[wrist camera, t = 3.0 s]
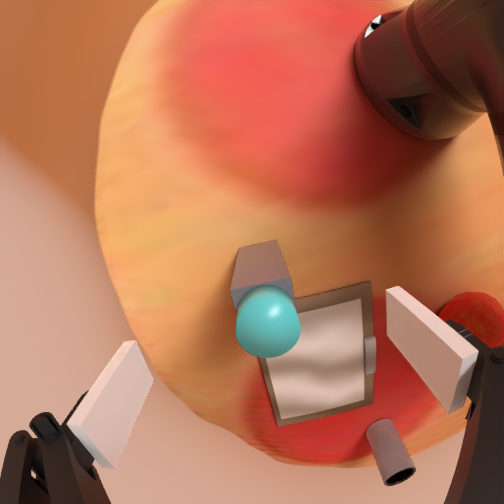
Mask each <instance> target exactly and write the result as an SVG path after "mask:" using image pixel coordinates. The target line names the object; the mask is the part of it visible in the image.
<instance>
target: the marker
mask: <svg viewBox="0 0 504 504" xmlns="http://www.w3.org/2000/svg"><path fill="white" fill-rule="evenodd" d="M230 293H231V297H232V300H233V304H234V308H235V311H236V315H237V321H236V329H235V332H236V338H237V341H238V343H239V344H240V346H241V347H242V348H243V349H244V350H245V351H246V352H248V353H249V354H251V355H254V356H256V357H261V358H273V357H278V356H281V355H283V354H285V353H287V352H288V351H290V350H291V349H292V348H293V347H294V346H295V344H296V343H297V341H298V339H299V336H300V332H301V326H300V322H299V318H298V314H297V308H296V303H295V297H294V292H293V287H292V281H291V277H290V274H289V271H288V269H287V266H286V263H285V261H284V258H283V256H282V253H281V250H280V248H279V245H278V243H277V240H273V241H269V242H264V243H259V244H255V245H250V246H245V247H241V248H239V251H238V255H237V260H236V264H235V269H234V273H233V278H232V282H231V287H230Z"/></svg>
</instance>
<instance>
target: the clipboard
mask: <svg viewBox="0 0 504 504" xmlns="http://www.w3.org/2000/svg"><path fill="white" fill-rule="evenodd" d="M295 303H296V308H297V314H298V318H299V322H300V326H301V332H300V336H299V339H298V341H297V343H296V344H295V346H294V347H293V348H292V349H291V350H290V351H288V352H287V353H285V354H283V355H281V356H278V357H273V358H261V357H259V359H260V363H261V367H262V371H263V374H264V378H265V382H266V385H267V389H268V393H269V396H270V400H271V404H272V407H273V411H274V414H275V418H276V421H277V425H278V426H283V425H289V424H294V423H299V422H304V421H309V420H314V419H318V418H322V417H327V416H331V415H335V414H338V413H342V412H346V411H349V410H353V409H356V408H360V407H363V406H366V405H370V404H373V385H374V372H376V338H375V336H374V335H373V310H372V294H371V282H370V281H367V282H363V283H359V284H355V285H351V286H347V287H343V288H339V289H335V290H331V291H327V292H323V293H318V294H314V295H310V296H305V297H301V298H296V299H295Z"/></svg>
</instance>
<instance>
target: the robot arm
mask: <svg viewBox="0 0 504 504" xmlns="http://www.w3.org/2000/svg"><path fill="white" fill-rule="evenodd" d="M354 58H355V66H356V71H357V74H358V77H359V80H360V82H361V85H362V87H363V89H364V91H365V93H366V94H367V96H368V97H369V99H370V101H371V102H372V103H373V105H374V106H375V107H376V108H377V110H378V111H379V112H380V113H381V114H382V115H383V116H384V117H385V118H386V119H387V120H388V121H389V122H390V123H392V124H393V125H394V126H396V127H397V128H398V129H400V130H401V131H403V132H405V133H407V134H409V135H411V136H413V137H416V138H419V139H423V140H440V139H446V138H451V137H454V136H456V135H458V134H460V133H462V132H463V131H464V130H466V129H467V128H468V127H469V126H470V125H471V124H472V123H474V122H475V121H476V120H477V119H478V118H479V117H480V116H482V115H483V114H484V113H486V112H487V113H488V116H489V119H490V122H491V125H492V128H493V132H494V136H495V140H496V144H497V148H498V152H499V156H500V161H501V165H502V170H503V175H504V0H415V1H414V2H413V3H412V4H411V5H409V6H405V7H402V8H399V9H396V10H393V11H390V12H387V13H384V14H382V15H379V16H377V17H376V18H374V19H373V20H372V21H370V22H369V23H368V25H367V26H366V27H365V28H364V30H363V31H362V32H361V34H360V35H359V37H358V39H357V42H356V45H355V52H354ZM386 311H387V336H388V337H389V338H390V340H391V341H392V342H393V343H394V345H395V346H396V347H397V348H398V350H399V351H400V352H401V353H402V355H403V356H404V357H405V358H406V360H407V361H408V362H409V363H410V365H411V366H412V367H413V368H414V370H415V371H416V372H417V373H418V375H419V376H420V377H421V379H422V380H423V381H424V383H425V384H426V385H427V386H428V388H429V389H430V390H431V392H432V393H433V394H434V396H435V397H436V398H437V400H438V401H439V402H440V404H441V405H442V406H443V408H444V409H445V410H446V412H447V413H448V414H450V413H452V412H454V411H456V410H457V409H459V408H461V407H463V406H464V403H465V400H466V397H467V396H468V397H469V398H470V400H471V401H472V402H471V405H470V407H469V410H468V413H467V416H466V418H465V419H468V420H467V425H466V430H465V435H464V439H463V444H462V448H461V452H460V455H459V459H458V463H457V466H456V470H455V473H454V476H453V479H452V482H451V485H450V488H449V491H448V494H447V497H446V499H445V502H444V504H504V348H503V347H495V348H492V349H491V348H490V347H489V346H488V345H486V344H485V343H484V342H483V341H482V340H480V339H479V338H478V337H477V336H475V335H474V334H472V332H470V331H469V330H467V329H466V328H465V327H464V326H463V325H461V324H460V323H458V322H455V321H453V320H448V321H445V322H444V321H443V320H441V319H440V318H439V317H438V316H436V315H435V314H434V313H433V312H432V311H430V310H429V309H428V308H426V307H425V306H424V305H423V304H421V303H420V302H419V301H418V300H416V299H415V298H414V297H412V296H411V295H410V294H409V293H407V292H406V291H405V290H403V289H402V288H401V287H399V286H396V287H392V288H389V289H386ZM153 382H154V379H153V377H152V375H151V373H150V371H149V369H148V367H147V365H146V362H145V360H144V358H143V356H142V354H141V352H140V349H139V347H138V345H137V342H136V340H135V341H126V342H123V344H122V345H121V346H120V348H119V349H118V351H117V352H116V353H115V355H114V356H113V358H112V359H111V360H110V362H109V363H108V364H107V366H106V367H105V369H104V370H103V371H102V373H101V374H100V376H99V377H98V378H97V380H96V381H95V383H94V384H93V386H92V387H91V388H90V390H88V391H87V392H85V393H84V394H83V395H82V396H81V397H80V399H79V400H78V401H77V404H76V405H75V406H74V407H73V410H71V412H70V413H69V415H68V416H67V418H66V419H65V421H64V422H63V423H62V425H61V426H60V425H59V423H58V422H57V421H56V419H55V418H54V416H53V415H52V414H51V413H49V412H43V413H40V414H38V415H36V416H35V417H34V418H33V419H32V420H31V422H30V424H29V427H30V428H31V430H32V431H33V432H34V433H35V435H36V436H37V437H38V438H32V437H31V435H30V434H29V433H28V432H27V431H25V430H21V431H17V432H16V433H14V434H13V435H12V437H11V438H10V440H9V444H8V448H7V451H6V455H5V459H4V463H3V468H2V472H1V477H0V504H111V502H110V500H109V498H108V496H107V494H106V491H105V489H104V488H103V485H102V482H101V480H100V478H99V475H98V473H97V470H96V469H95V467H94V466H93V465H92V463H93V461H94V459H95V460H96V461H97V462H98V463H99V464H100V466H101V467H104V468H110V469H116V468H117V466H118V463H119V460H120V458H121V456H122V453H123V451H124V449H125V446H126V444H127V442H128V439H129V437H130V434H131V432H132V430H133V427H134V425H135V423H136V420H137V418H138V416H139V413H140V411H141V409H142V407H143V404H144V402H145V400H146V398H147V395H148V393H149V391H150V389H151V386H152V384H153ZM31 470H32V471H33V472H34V473H35V474H36V479H35V478H33V477H32V476H31Z"/></svg>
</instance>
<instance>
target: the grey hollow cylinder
mask: <svg viewBox="0 0 504 504" xmlns="http://www.w3.org/2000/svg"><path fill="white" fill-rule="evenodd" d="M366 437H367V439H368V442H369V444H370V447H371V450H372V452H373V455H374V458H375V460H376V463H377V466H378V468H379V471H380V473H381V476H382V479H383V482H384V484H385V485H387V486H392V485H396V484H399V483H401V482H403V481H405V480H407V479H408V478H410V477H411V476H412V475H413V474H414V472H415V471H416V468H415V466H414V463H413V461H412V459H411V457H410V455H409V453H408V451H407V449H406V447H405V445H404V443H403V441H402V439H401V437H400V435H399V433H398V431H397V429H396V427H395V425H394V423H393V421H392V420H391V419H381V420H378V421H376V422H374V423H373V424H371V425H370V426H369V427H368V429H367V430H366Z"/></svg>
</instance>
